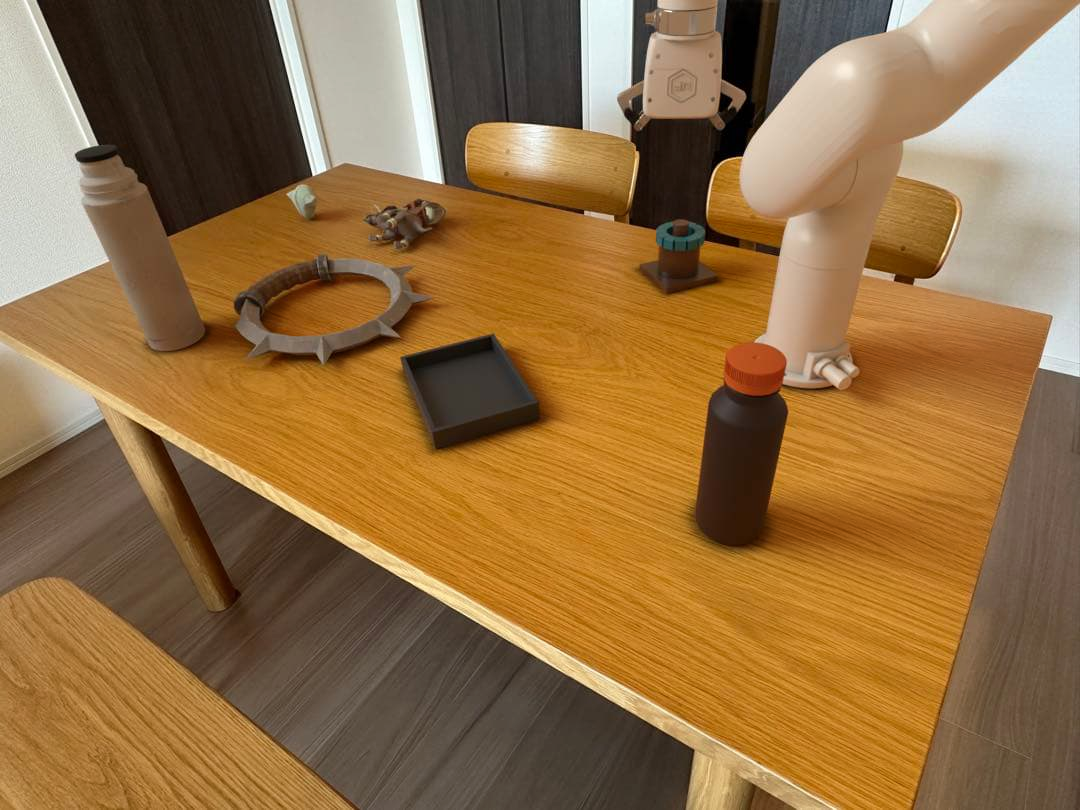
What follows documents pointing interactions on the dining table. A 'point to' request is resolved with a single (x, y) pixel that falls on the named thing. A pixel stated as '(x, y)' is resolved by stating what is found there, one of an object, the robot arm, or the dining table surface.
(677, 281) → the ring stand
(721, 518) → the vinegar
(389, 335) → the spiked ring
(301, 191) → the pale green irregular chunk
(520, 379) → the tray
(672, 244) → the ring
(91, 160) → the thermos bottle
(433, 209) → the figurine
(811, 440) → the dining table surface
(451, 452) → the dining table surface
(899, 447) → the dining table surface
